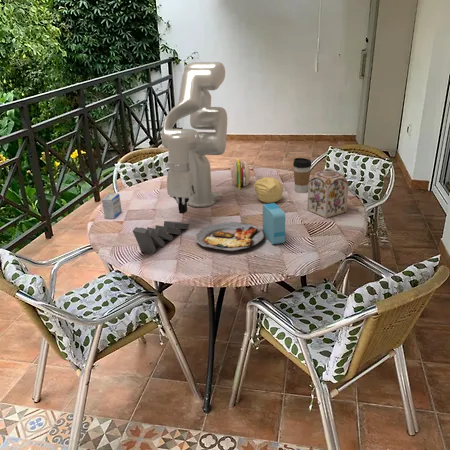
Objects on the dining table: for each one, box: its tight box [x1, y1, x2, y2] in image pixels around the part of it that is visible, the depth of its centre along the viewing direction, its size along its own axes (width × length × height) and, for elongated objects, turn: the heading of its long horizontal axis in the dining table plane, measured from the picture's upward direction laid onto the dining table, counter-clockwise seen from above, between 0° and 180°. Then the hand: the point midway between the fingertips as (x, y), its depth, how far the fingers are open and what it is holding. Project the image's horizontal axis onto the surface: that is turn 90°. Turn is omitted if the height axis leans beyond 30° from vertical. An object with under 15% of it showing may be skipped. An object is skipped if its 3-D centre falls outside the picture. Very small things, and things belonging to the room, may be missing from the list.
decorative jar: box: [307, 168, 349, 219], centre depth 185 cm, size 12×12×18 cm
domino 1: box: [132, 226, 157, 255], centre depth 156 cm, size 2×5×10 cm, turn 64°
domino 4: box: [154, 224, 182, 235], centre depth 168 cm, size 2×5×10 cm
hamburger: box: [232, 158, 251, 190], centre depth 220 cm, size 12×8×12 cm
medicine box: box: [101, 192, 123, 220], centre depth 190 cm, size 8×4×9 cm, turn 168°
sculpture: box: [253, 176, 284, 204], centre depth 200 cm, size 12×12×11 cm
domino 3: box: [146, 226, 174, 242], centre depth 163 cm, size 2×5×10 cm
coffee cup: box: [292, 157, 312, 194], centre depth 209 cm, size 8×8×15 cm
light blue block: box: [262, 202, 286, 245], centre depth 163 cm, size 12×4×12 cm, turn 14°
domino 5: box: [163, 220, 190, 230], centre depth 173 cm, size 2×5×10 cm
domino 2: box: [142, 227, 166, 248], centre depth 159 cm, size 2×5×10 cm
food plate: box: [195, 221, 266, 252], centre depth 165 cm, size 25×23×4 cm
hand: (183, 212), depth 175 cm, fingers closed
